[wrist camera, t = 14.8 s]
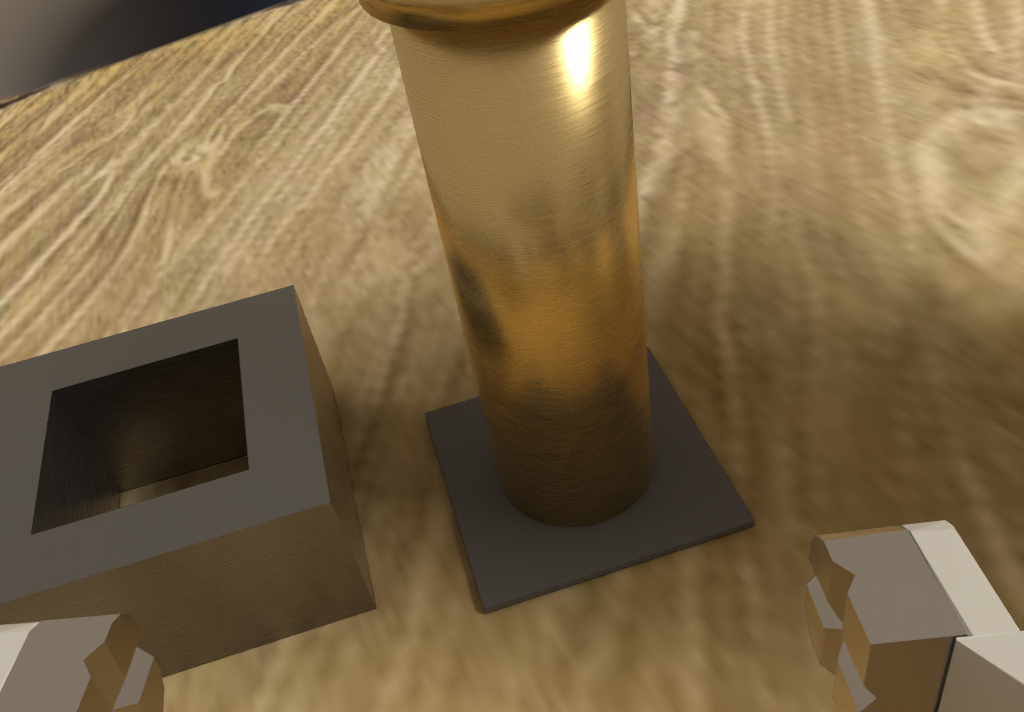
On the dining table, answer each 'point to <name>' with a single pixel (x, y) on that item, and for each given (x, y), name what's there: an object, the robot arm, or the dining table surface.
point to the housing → (192, 511)
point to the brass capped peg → (539, 236)
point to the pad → (589, 549)
